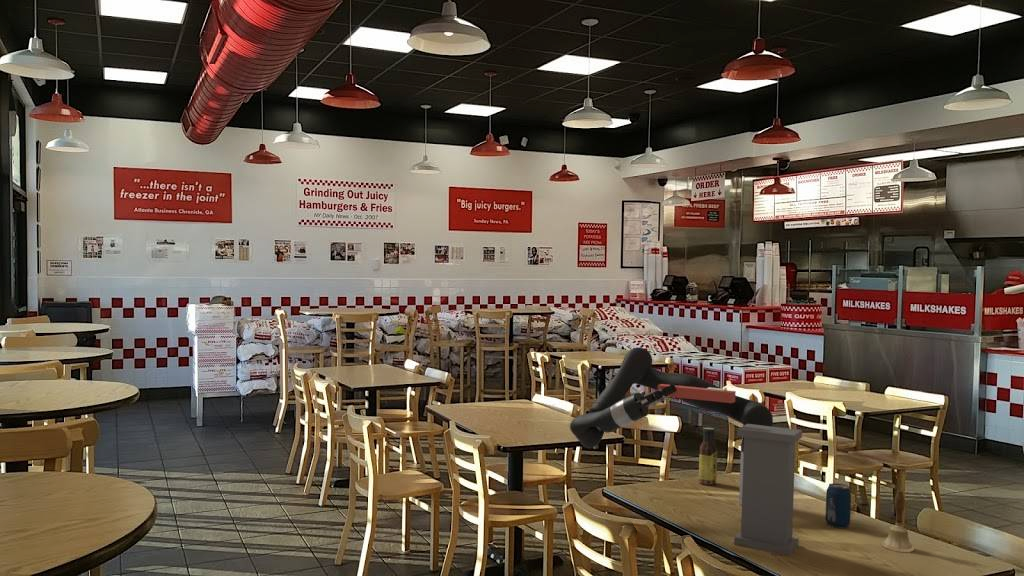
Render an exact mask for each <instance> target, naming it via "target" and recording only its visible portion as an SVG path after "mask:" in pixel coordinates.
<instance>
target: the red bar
mask: <svg viewBox="0 0 1024 576" xmlns="http://www.w3.org/2000/svg"><path fill="white" fill-rule="evenodd" d="M668 386H670V385H667V384H660V385H658V391H659V390H660V389H662V390H663V389H664V388H666V387H668ZM675 387H676V389H677V390H676V391H675V392H673V393H671V394H669V395H667V396H668V397H669V398H675V397H678V398H687V399H697V400H706V401H716V402H725V403H733V402H735V395H736V392H737V391H735V390H728V389H727V388H722V389H720V388H721V387H720V388H710V387H709V388H698V387H687V386H677V385H675ZM668 397H667V398H668Z"/></svg>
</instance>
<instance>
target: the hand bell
mask: <svg viewBox="0 0 1024 576" xmlns="http://www.w3.org/2000/svg"><path fill="white" fill-rule="evenodd" d="M905 506H906V500H905V495H904V492H903V490H901V489H899V490H897V491H896V494H895V497H894V508H895V512H896V515H895V525H893V526H890V528H889V531H888V535H887V537H886V539H885V540H883V542H882V543H881V546H882V547H883V546H884V547H886V548H891V549H899V550H900V549H910V548H912V546H913V544H911V542H910V539H909V533H908V529H907V528H906V527H904V526H903V514H904V513H903V512H904V510H905ZM884 547H883V548H884ZM886 548H885V549H886Z"/></svg>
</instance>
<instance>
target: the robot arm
mask: <svg viewBox="0 0 1024 576" xmlns="http://www.w3.org/2000/svg"><path fill="white" fill-rule="evenodd" d="M652 365H653V356H652V354H651V353H650V351H648V350H647V349H645V348H644V347H639V346H638V347H633V348H631V349H630V350H628V351H627V353H626V354H625V356H624V357H623V359H622V362H621V364H620V368H619V370H618V371H617V373H616V374H615V375H614V377H613V378H612V380H610V382H609V383H608V384H607V386H606V387H605V388H604V389H603V391H601V393H600V394H599V396H598V397H597V398H596V400H594V402H593V403H592V405H591V406H589V409H588V413H583V414H579V415H577V416H576V417H575V418H573V419H572V420H571V421H570V423H569V424H570V425H569V429H570V431H571V433H572V434H573V435H574V436H575V438H576V439H577V440H578V442H580V444H581V445H582V446H583V447H584V448H586V449H593V448H595V447H597V445H599V443H600V442H601V441H602V439H603V436H604V434H605V433H607V434H608V433H612V432H614V431H616V430H618V429H621V428H622V427H626V426H629V425H630V424H632V423H636V422H637V421H639V420H641V419H643V418H645V417H647V416H648V415H649V408H651V407H654V406H657V405H658V404H659V403H661V402H663V401H665V399H667V398H668V396H667V395H669V394H671V393H673V392H675V391H676V390H677V389H676V387H675V385H677V386H687V387H698V388H709V387H710V388H720V389H723V388H721V387H719V386H718V385H716V384H713V383H711V382H710V381H708V380H705V379H703V378H700V377H698V376H696V375H693V374H689V373H674V372H673V373H672V372H665V371H662V370H658V369H656V368H654V367H652ZM634 384H636V385H639V386H642V387H643V386H644V387H646V388H649V389H653V390H654V391H651V392H648V393H646V394H643V395H642V394H640V393H638V392H634V393H632V394H631V395H629V396H627V397H625V396H626V395H627V393H628V392H629V390H630V389H631V387H633V385H634ZM660 384H667V385H670V386H668V387H666V388H664V389H663V390H662V389H660V390H659V391H658V385H660ZM674 398H675V399H678V400H680V401H682V402H684V403H686V404H689V405H690V406H691V405H692V406H694V407H695V408H699V409H701V410H705V411H709V412H714V413H719V414H721V415H723V416H727V417H728V418H732V419H733V420H734V421H737V422H739V423H741V425H742V426H744V425H746V424H754V425H762V426H771V427H774V421H773V420H774V416H773V414H772V412H771V410H770V409H769V408H768V407H767V406H766V405H764V404H763V403H761V402H758V401H754V400H751V399H748V398H745V397H741V396H739V395H736V394H735V402H733V403H725V402H716V401H706V400H697V399H687V398H678V397H674ZM741 440H742V441H741V443H740V463H739V464H740V466H739V470H740V471H739V496H738V500H739V501H738V504H740V505H741V506H742V487H743V456H744V437H742V439H741Z"/></svg>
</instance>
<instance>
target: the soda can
mask: <svg viewBox="0 0 1024 576" xmlns="http://www.w3.org/2000/svg"><path fill="white" fill-rule="evenodd" d="M825 491H826V493H825V494H826V497H825V519H824V520H825V522H826V524H827V525H828V526H829V525H830V526H829V527H831V526H833V527H832V528H835V527H838V528H837V529H847V528H848V527H849V526H850V524H851V511H852V509H851V507H852V492H851V491H852V490H850V486H849V485H847V484H844V483H829V484H828V486H827V489H826V490H825Z"/></svg>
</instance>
